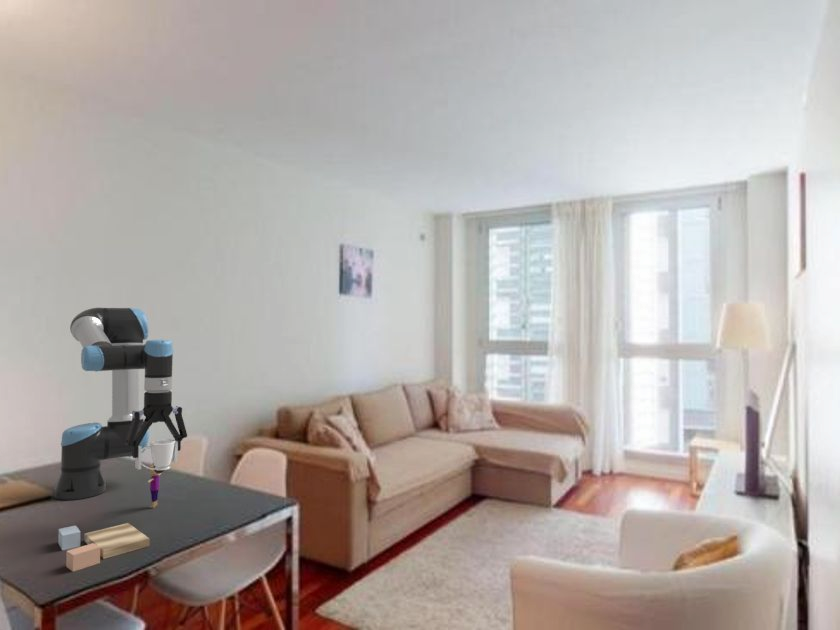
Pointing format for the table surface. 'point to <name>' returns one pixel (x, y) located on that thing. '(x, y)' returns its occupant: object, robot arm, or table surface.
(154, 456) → the cup
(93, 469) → the robot arm
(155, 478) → the toy
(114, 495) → the table surface
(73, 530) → the slate brick
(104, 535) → the oak board
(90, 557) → the terracotta brick
